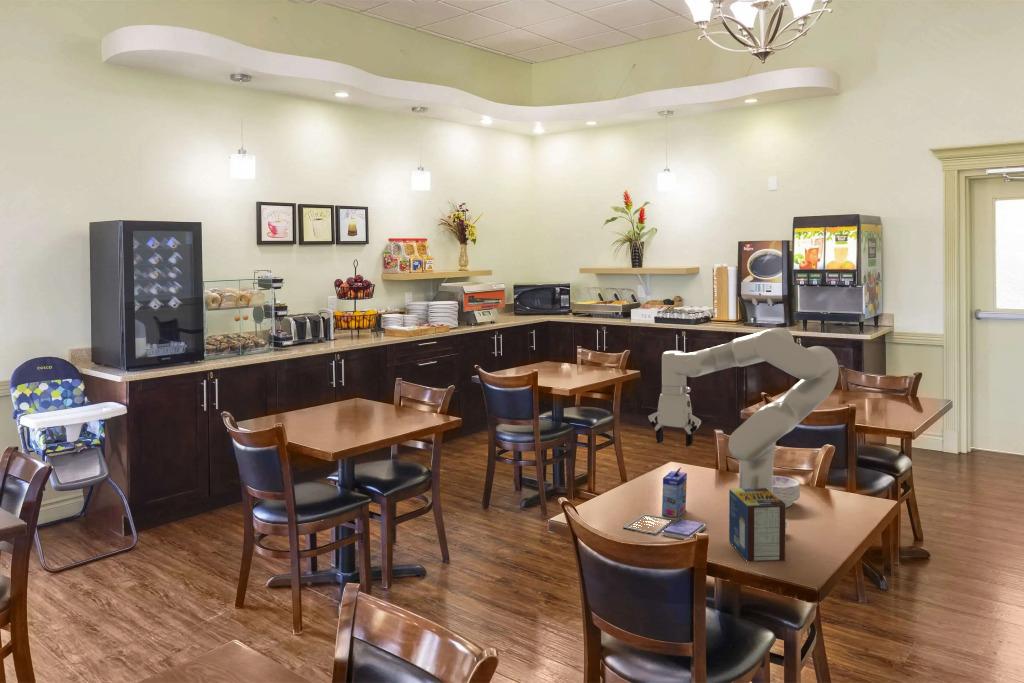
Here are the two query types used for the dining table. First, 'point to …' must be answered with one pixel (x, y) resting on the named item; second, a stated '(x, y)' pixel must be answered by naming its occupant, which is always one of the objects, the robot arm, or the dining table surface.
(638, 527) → the marked card
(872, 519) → the dining table surface
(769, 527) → the protein box
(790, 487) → the paper bowls
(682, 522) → the ink pad
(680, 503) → the ink cartridge box
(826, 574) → the dining table surface
